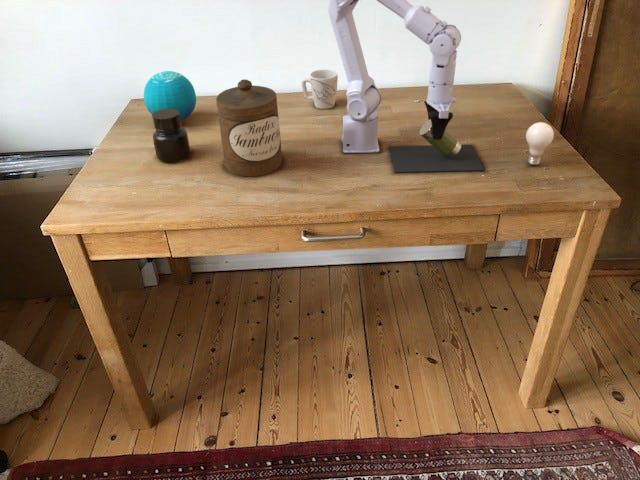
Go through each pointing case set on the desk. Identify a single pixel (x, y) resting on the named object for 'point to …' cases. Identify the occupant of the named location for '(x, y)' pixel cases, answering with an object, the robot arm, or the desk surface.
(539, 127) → the lightbulb
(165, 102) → the decorative orb
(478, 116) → the desk surface
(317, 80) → the mug
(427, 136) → the can
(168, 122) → the ink bottle
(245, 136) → the wooden container
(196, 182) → the desk surface
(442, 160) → the mat
